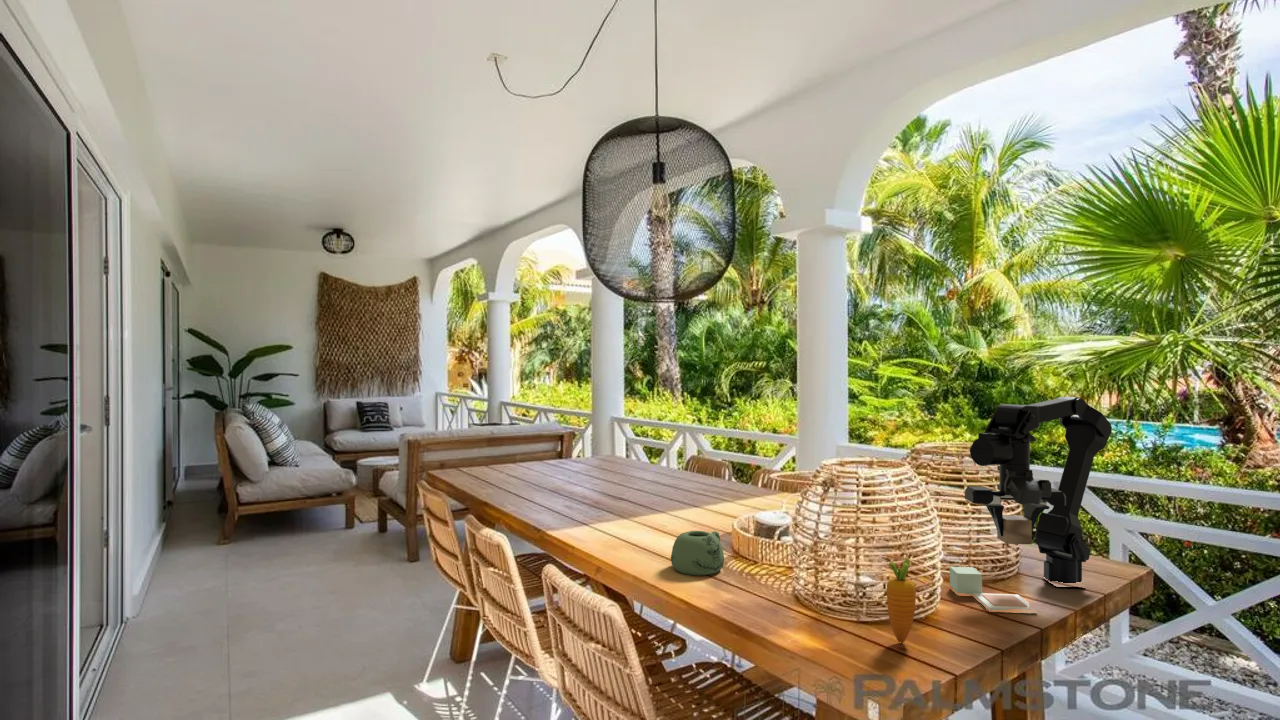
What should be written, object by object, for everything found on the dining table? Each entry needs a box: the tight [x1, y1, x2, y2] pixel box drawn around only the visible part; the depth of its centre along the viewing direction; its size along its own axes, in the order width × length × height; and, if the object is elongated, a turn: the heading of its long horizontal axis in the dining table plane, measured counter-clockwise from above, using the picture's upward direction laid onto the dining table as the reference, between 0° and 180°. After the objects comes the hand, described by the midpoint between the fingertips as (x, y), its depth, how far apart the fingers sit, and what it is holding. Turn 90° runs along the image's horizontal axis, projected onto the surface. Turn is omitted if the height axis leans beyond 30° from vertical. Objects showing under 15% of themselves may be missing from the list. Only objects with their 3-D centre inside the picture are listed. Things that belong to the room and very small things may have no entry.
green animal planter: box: [670, 530, 725, 576], centre depth 172 cm, size 16×13×9 cm
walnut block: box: [996, 514, 1033, 545], centre depth 152 cm, size 5×5×5 cm
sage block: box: [949, 566, 983, 594], centre depth 153 cm, size 5×5×5 cm
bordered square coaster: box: [973, 592, 1030, 610], centre depth 145 cm, size 9×9×1 cm
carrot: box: [886, 557, 917, 644], centre depth 126 cm, size 5×5×15 cm
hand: (1014, 536), depth 152 cm, fingers closed on walnut block, 5 cm apart
